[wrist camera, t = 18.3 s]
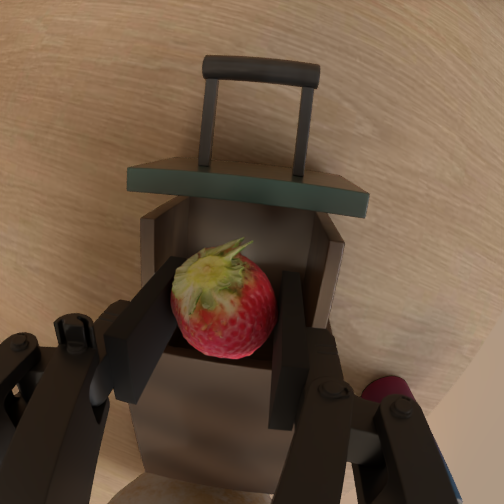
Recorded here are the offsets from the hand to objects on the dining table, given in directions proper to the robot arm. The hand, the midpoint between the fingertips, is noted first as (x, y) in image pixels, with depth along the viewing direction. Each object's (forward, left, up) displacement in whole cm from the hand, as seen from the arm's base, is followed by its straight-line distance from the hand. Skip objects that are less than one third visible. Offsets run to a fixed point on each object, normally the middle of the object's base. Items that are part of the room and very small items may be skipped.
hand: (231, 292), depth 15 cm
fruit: (0, 0, 0) cm, 0 cm away
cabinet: (0, +12, -10) cm, 15 cm away
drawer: (0, -1, -9) cm, 9 cm away
